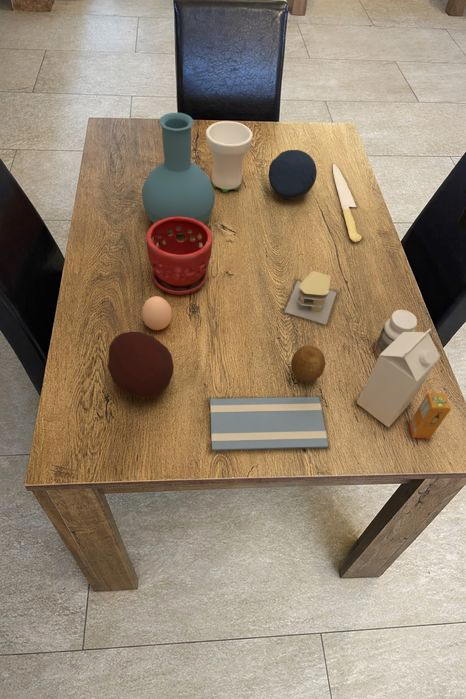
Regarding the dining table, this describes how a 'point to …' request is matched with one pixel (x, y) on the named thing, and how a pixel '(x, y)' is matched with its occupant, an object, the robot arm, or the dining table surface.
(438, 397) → the supplement box
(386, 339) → the pill bottle
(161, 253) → the flower pot
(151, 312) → the egg
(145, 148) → the dining table surface
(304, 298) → the stacked layers on plate
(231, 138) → the cup
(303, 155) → the decorative stone
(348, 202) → the knife
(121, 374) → the potato
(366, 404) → the milk carton
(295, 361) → the fruit
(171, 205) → the vase
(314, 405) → the towel
